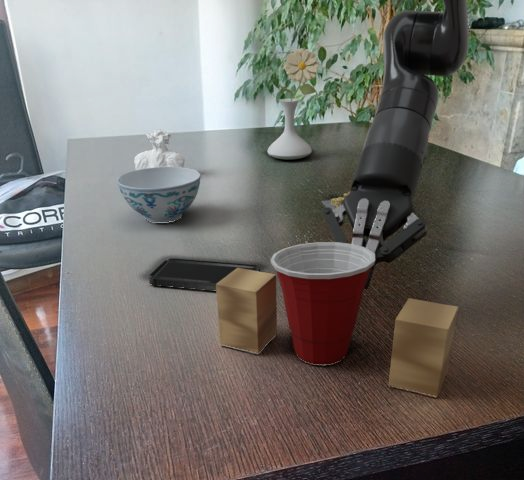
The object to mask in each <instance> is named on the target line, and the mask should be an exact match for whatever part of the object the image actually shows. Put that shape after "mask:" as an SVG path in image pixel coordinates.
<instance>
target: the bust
mask: <svg viewBox="0 0 524 480" xmlns="http://www.w3.org/2000/svg"><path fill="white" fill-rule="evenodd" d="M145 136H146V137H147V140H149V143H150V144H151V145H152V149H150V150H149V149H148V150H145V151H142V152H140V153H137V154H136V155H135V156H134V160H133V161H134V164H133V165H134V170H135V171H136V170H141V169H147V168H155V167H182V168H184V165H185V160H186V159H185V157H184V156H183V155H182V154H181V153H178V152H177V151H175V150H169V148H168V147H167V145H170V139H171V138H172V134H171V133H169V132H166V131H165V130H162V129H158V130H155V129H154V131H153V132H151V133H146V134H145Z"/></svg>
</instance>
